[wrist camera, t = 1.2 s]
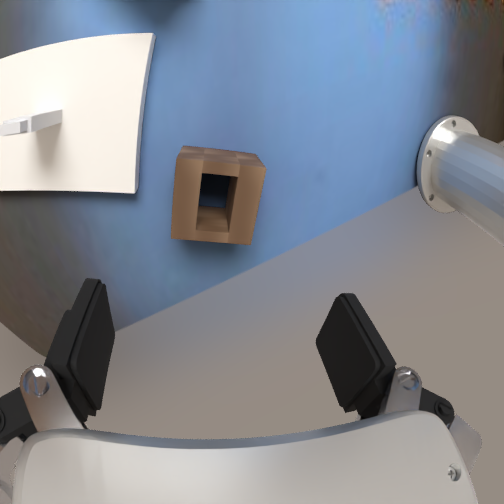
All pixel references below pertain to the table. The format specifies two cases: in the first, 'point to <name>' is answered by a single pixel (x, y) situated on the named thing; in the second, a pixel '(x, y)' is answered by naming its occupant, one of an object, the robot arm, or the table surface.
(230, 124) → the table surface
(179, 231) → the open wooden cubby
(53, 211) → the table surface
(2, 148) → the key base
